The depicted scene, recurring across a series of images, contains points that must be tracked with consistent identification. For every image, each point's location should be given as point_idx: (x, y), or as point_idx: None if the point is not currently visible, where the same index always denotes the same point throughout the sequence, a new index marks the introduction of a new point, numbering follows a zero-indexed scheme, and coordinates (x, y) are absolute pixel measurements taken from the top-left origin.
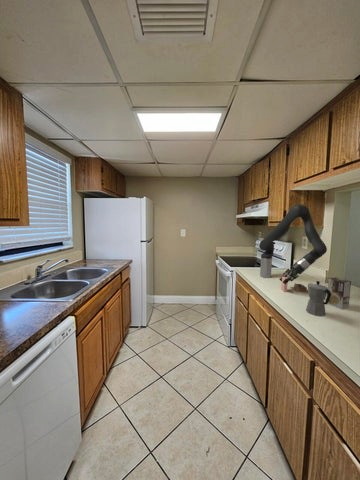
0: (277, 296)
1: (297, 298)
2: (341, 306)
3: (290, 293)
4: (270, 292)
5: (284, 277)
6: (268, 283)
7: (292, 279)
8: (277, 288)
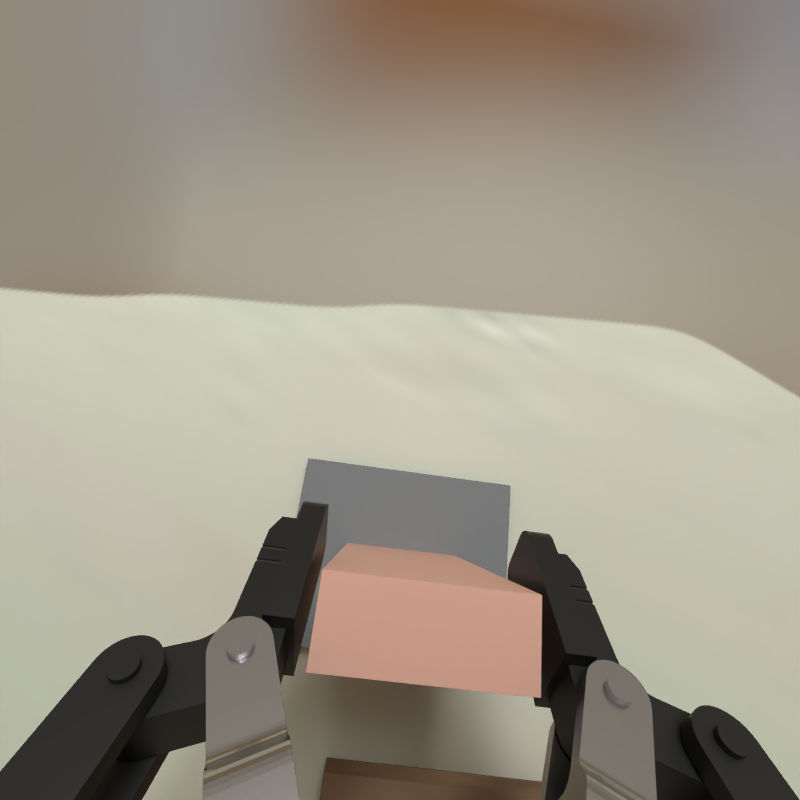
0: (233, 389)
1: None
2: None
3: None
4: (378, 368)
5: (453, 630)
6: (773, 513)
7: (109, 775)
8: None
